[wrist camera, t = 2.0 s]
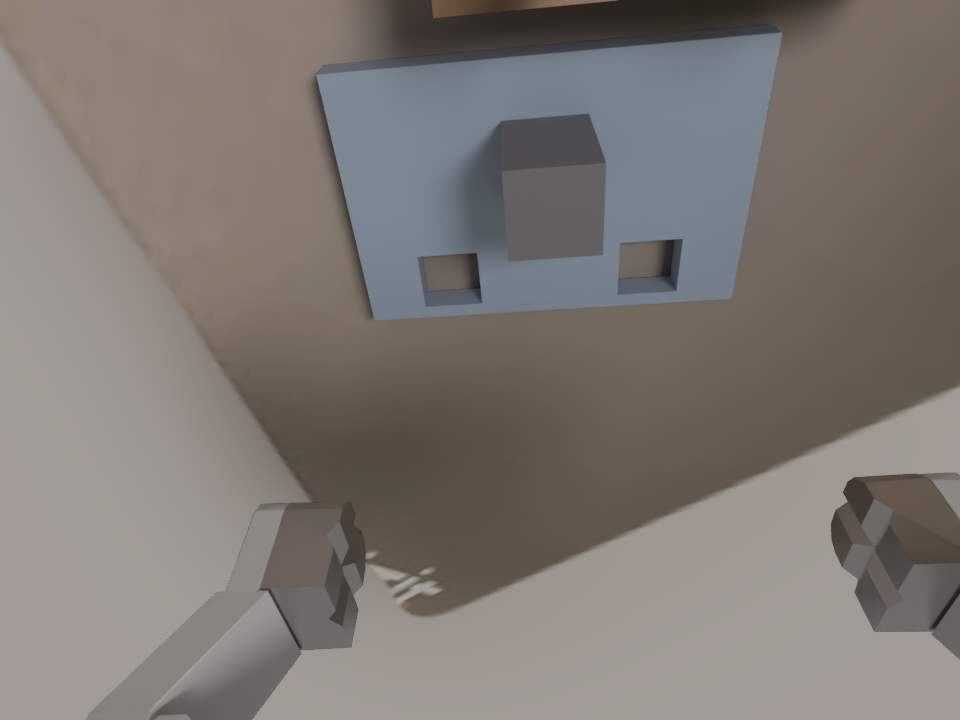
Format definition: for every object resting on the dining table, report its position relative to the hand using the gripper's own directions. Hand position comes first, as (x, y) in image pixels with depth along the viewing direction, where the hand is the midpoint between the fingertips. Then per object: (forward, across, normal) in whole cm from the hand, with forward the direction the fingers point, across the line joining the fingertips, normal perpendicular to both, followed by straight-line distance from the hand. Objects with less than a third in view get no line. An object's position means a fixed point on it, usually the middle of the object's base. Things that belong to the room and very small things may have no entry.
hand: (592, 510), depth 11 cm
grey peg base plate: (+17, 0, +1) cm, 17 cm away
